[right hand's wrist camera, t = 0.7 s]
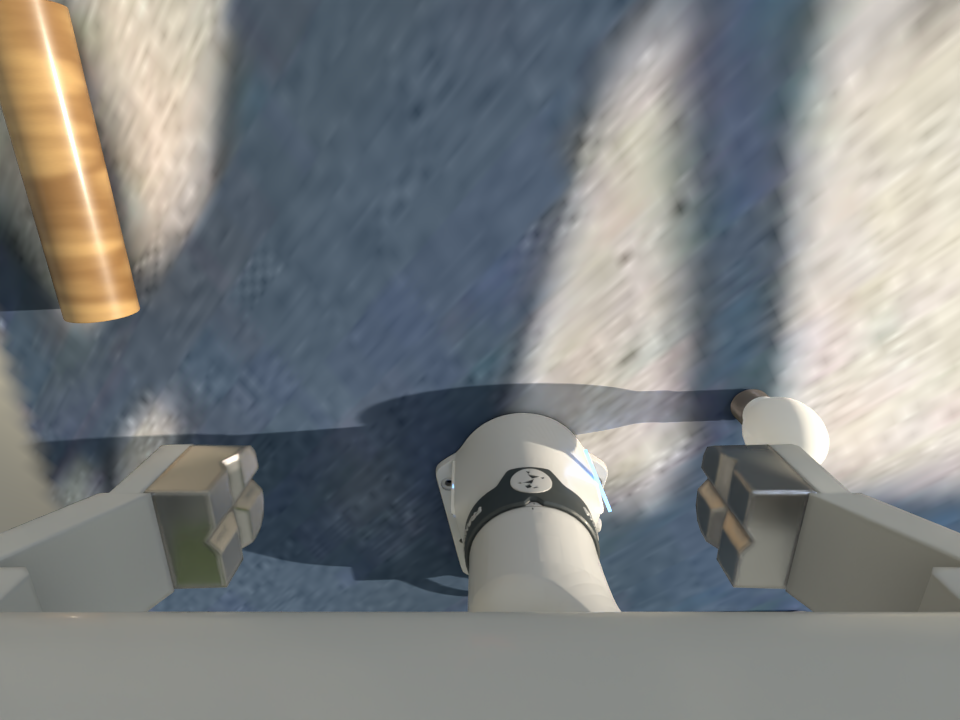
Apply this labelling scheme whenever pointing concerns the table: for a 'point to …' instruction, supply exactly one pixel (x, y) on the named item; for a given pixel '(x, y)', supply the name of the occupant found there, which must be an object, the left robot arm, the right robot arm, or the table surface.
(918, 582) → the right robot arm
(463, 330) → the table surface
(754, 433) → the light bulb
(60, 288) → the rod
